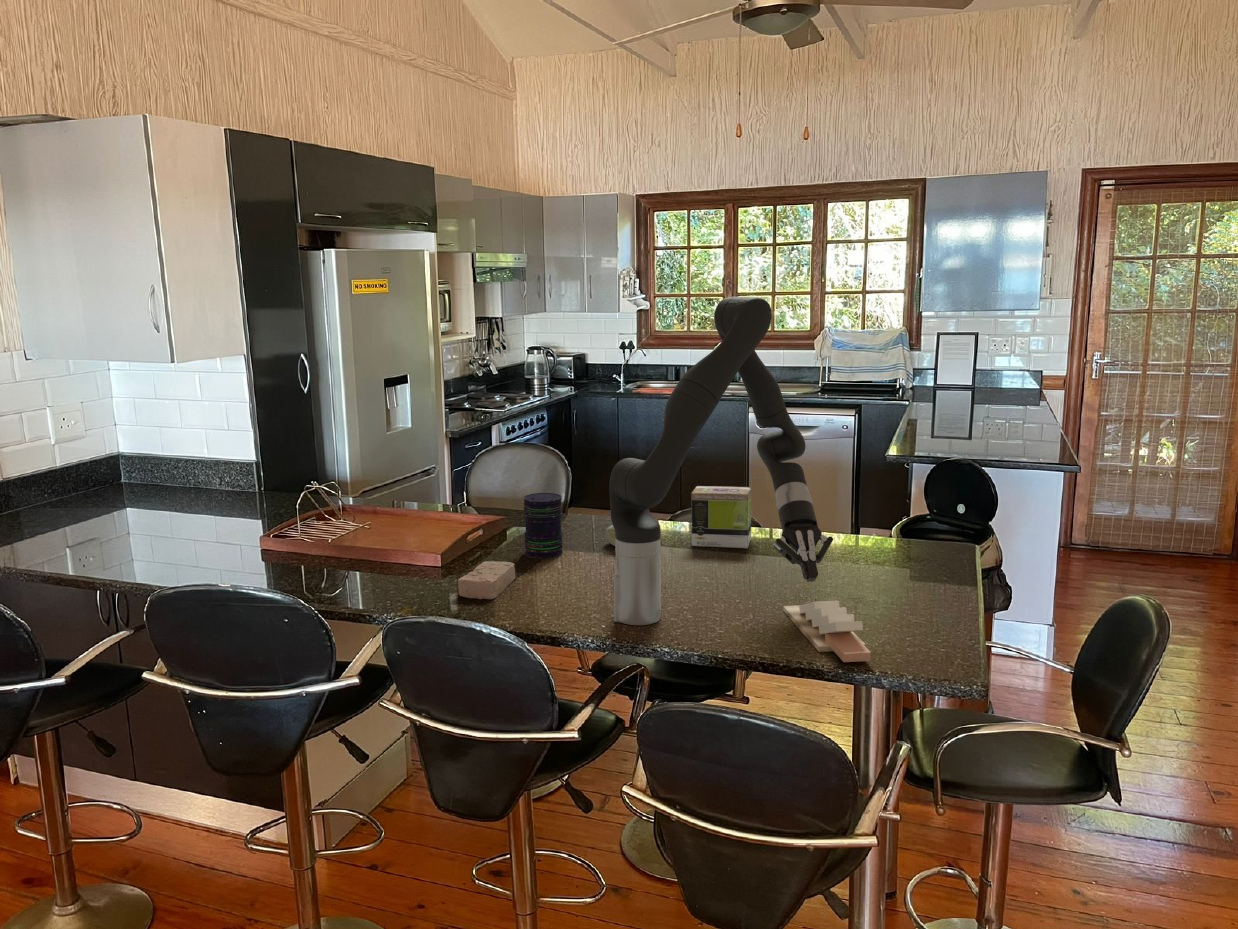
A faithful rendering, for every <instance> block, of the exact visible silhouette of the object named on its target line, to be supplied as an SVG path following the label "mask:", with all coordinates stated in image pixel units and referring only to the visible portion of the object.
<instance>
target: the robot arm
mask: <svg viewBox="0 0 1238 929" xmlns="http://www.w3.org/2000/svg"><path fill="white" fill-rule="evenodd" d="M715 307H716V308H715V310H714V314H713V318H714V319H713V322H714V325H715V329H716V331H717V334H718V336H719V337H720V340H721V341H720V343H719V344H718V346H717V347H715V348H714V349H713V350H712V351H711V352H710V353H708V354H707V355H706V356H705V357H704V356H703V358H701V359H700V360H699V361H698V362H696V363H695V364H694V365H692V366H691V367H690V368H689V369H688V370H687V371H686V372H685V373H684V374H683V375H682V376H681V378H680V380H679V381H678V382H677V384H676V385H675V388H674V389H672V392H671V394H670V395H669V397H668V399H667V401H666V404H665V409H664V414H663V416H664V418H663V425H662V426H663V427H662V432H661V435H660V438H659V440H658V442H657V443H656V444H655V445H656V446H655V447H654V448H653V449H652V451H651V453H650V454H649V455H648V457H647V458H646V459H645V460H643V459H638V458H635V457H627V458H623V459H621V460H619V461H618V462H617V463H615V465H614V466H613V468H612V470H611V473H610V477H609V478H610V479H609V483H608V484H609V507H610V508H609V509H610V521H611V525H612V524H613V527H614V529H615V546H614V547H615V550H614V551H615V575H614V577H613V615H614V616H613V617H614V618H613V620H614V622H615V623H622V624H625V625H630V626H646V625H651V624H654V623H655V624H656V623H657V622H659V621H660V620H661V617H662V616H661V612H662V608H661V603H662V601H661V600H662V599H661V598H662V594H661V593H662V592H661V591H662V590H661V588H662V587H661V579H662V578H661V577H662V576H661V574H662V572H661V569H662V568H661V567H662V566H661V561H662V559H661V558H662V557H661V555H662V554H661V552H662V551H661V547H662V546H661V543H662V542H661V532H662V531H661V530H662V529H661V524H660V523H659V522H658V521H657V520H656V518H655V517H654V516H653V514H652V513H651V511H650V509H651V508H654V507H656V506H658V505H659V504H660V503H661V502H663V500H664V498H665V497H666V496H667V494H668V492H669V491H670V489H671V486H672V484H673V483H674V481H675V479H676V476H677V475H678V472H679V470H680V468H681V466H682V464H683V462H684V460H685V459H686V456H687V455H688V453H689V451H690V449H691V448H692V446H693V444H694V442H695V441H696V439H697V437H698V436H699V434H700V433H701V430H702V429H703V428H704V426H705V425H706V423H707V421H708V420H709V418H710V417H711V415H712V414H713V412H714V411H715V409H716V407H717V406H718V405H719V403H720V401H721V399H722V398H723V396H724V394H725V393H726V391H727V389H728V387H729V386H730V385H731V383H732V382H733V380H734V378H735V377H736V375H737V374H739V377H740V378H741V380H742V384H743V386H744V387H745V391H746V394H747V396H748V398H749V402H750V405H751V407H752V408H751V409H752V411H753V414H754V417H755V420H756V422H757V425H759V427H761V428H764V429H765V428H767V429H768V428H769V429H772V428H777V429H779V430H777V431H773V432H769V433H766V434H763V435H761V436H760V437H759V438H758V440H757V443H756V450H757V453H758V455H759V457H760V459H761V460H762V462H763V463H764V465H765V466H766V469H767V470H768V472H769V474H770V477H771V481H772V483H773V484H772V485H773V489H774V494H775V503H776V510H777V513H778V517H779V521H780V526H781V530H782V531H781V532H782V533H781V536H780V537H779V538H776V539H775V541H774V544H773V549H775V550H776V551H777V552H778V553H779V554H780V555H781V556H783V557H784V558H785V559H786V560H787V561H788V562H789V563H790V564H792V565H799V566H800V567H801V569H800V570H801V573H802V578H803V579H804V580H806V582H808V583H812V582H815V581H816V579H817V578H818V576H819V571H818V566H817V564H820V563H821V561H822V560H823V558H824V557H825V555H826V554H827V552H828V550H829V548H830V547H831V545H832V544H833V541H834V537H833V536H830V535H829V536H828V537H827V536H826V535H824V534H823V533H822V530H821V528H819V526H818V521H817V520H818V519H817V517H816V512H815V509H814V503H813V500H812V496H811V493H810V491H809V488H808V484H807V480H806V476H805V473H804V469H803V467H802V465H800V463H796V462H789V461H790V460H794V459H799V458H801V457H802V456H803V455H804V453H805V451H806V448H807V447H806V446H807V445H806V441H805V438H804V436H803V434H802V432H801V431H800V429H799V428H798V427H797V426H796V424H795V423H794V421H793V419H792V418H791V416H790V414H789V412H788V409H787V407H786V404H785V400H784V397H783V394H782V390H781V389H780V386H779V383H778V382H777V380H776V379H775V377H774V375H773V374H772V372H771V371H770V370H769V369H768V367H767V366H766V365H765V363H763V361H762V359H761V358H760V357H759V355H758V354H757V352H756V348H757V347H758V346H759V344H760V343H761V342H762V341H763V339H764V338H765V336H766V335H767V334H768V331H769V329H770V327H771V324H772V320H773V319H772V318H773V313H772V307H771V304H770V303H769V302H768V301H767V300H766V299H764V298H763V297H757V296H728V297H725V298H723V299H721V300H720V301H719V302H718V303H717V305H716V306H715ZM786 461H788V462H786ZM819 541H820V543H819ZM818 543H819V545H820V547H821V548H820V550H819V551H818V553H817V554H816V546H817V544H818Z"/></svg>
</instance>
